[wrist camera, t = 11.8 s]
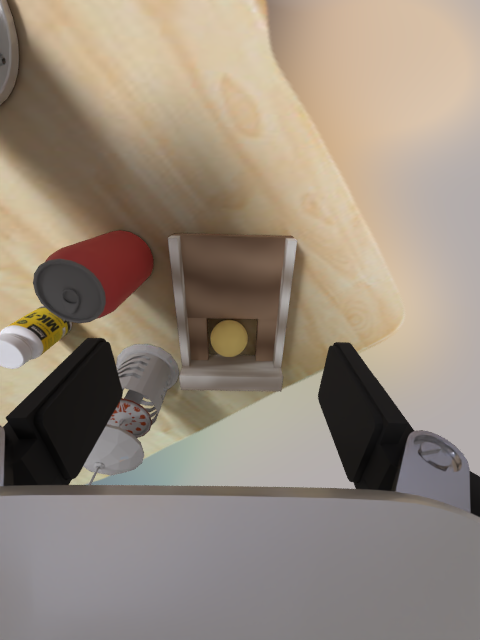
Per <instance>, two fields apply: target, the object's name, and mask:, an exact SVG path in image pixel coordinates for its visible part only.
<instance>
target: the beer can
mask: <svg viewBox="0 0 480 640" xmlns="http://www.w3.org/2000/svg"><path fill="white" fill-rule="evenodd" d="M152 270H153V256H152V253H151V250H150V249H149V247H148V246H147V244H146V243H145V242H144V241H143V240H142V239H141V238H140V237H139V236H137V235H135V234H133V233H131V232H127V231H121V230H119V231H113V232H109V233H106V234H103V235H100V236H97V237H94V238H91V239H88V240H85V241H82V242H79V243H76V244H73V245H70V246H67V247H64V248H61V249H60V250H58V251H56V252H55V253H53V254H52V255H50V256H49V257H48V258H47V260H46V262H45V263H43V264H41V265H40V266H39V267H38V269H37V270H36V272H35V273H34V280H33V285H34V289H35V293H36V295H37V296H38V298H39V300H40V302H41V303H42V304H43V305H44V306H45V307H46V308H47V309H48V310H49V311H50V312H51V313H53V314H54V315H56V316H57V317H59V318H61V319H64V320H66V321H69V322H75V323H86V322H91V321H93V320H94V319H96V318H101V317H103V316H105V315H107V314H109V313H111V312H113V311H114V310H115V309H116V308H117V307H118V306H119V305H121V304H122V303H123V302H124V301H125V300H126V299H127V298H128V297H129V296H130V295H131V294H132V293H133V292H134V291H135V290H136V289H137V288H138V287H139V286H140V285H141V284H142V283H143V282H144V281H145V280H146V279H147V278H148V277H149V276H150V275H151V273H152Z"/></svg>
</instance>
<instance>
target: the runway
mask: <svg viewBox="0 0 480 640" xmlns="http://www.w3.org/2000/svg"><path fill="white" fill-rule="evenodd" d="M168 245H169V253H170V262H171V271H172V280H173V289H174V298H175V307H176V316H177V324H178V333H179V342H180V351H181V360H182V369H181V372H180V375H179V379H180V387H181V390H226V391H281V390H282V382H283V375H282V370H281V364H282V356H283V348H284V340H285V332H286V324H287V317H288V309H289V301H290V293H291V285H292V277H293V269H294V262H295V254H296V246H297V240H296V239H295V238H294V237H293V236H270V235H226V234H182V233H174V234H173V235H171V236H170V237H168ZM208 318H227V319H257V334H256V350H255V355H236V356H234V357H224V356H222V355H220V354H209V336H208Z"/></svg>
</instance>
